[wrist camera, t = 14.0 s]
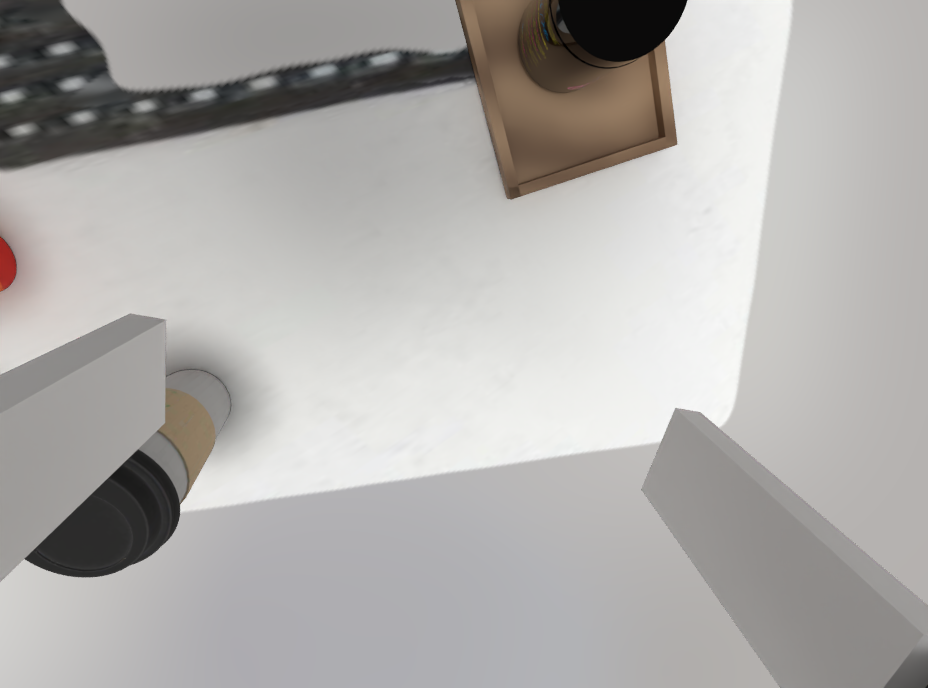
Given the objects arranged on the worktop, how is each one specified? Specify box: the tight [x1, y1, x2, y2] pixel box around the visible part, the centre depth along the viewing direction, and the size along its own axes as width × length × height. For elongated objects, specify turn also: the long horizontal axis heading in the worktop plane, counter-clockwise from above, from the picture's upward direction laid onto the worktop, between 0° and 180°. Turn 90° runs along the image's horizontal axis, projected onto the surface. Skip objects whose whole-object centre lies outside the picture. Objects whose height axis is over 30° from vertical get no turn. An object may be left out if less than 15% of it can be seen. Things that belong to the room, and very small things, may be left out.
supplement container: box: [518, 0, 687, 93], centre depth 27 cm, size 7×7×10 cm
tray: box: [455, 0, 677, 199], centre depth 32 cm, size 18×13×2 cm
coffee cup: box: [25, 370, 231, 577], centre depth 32 cm, size 9×9×15 cm
